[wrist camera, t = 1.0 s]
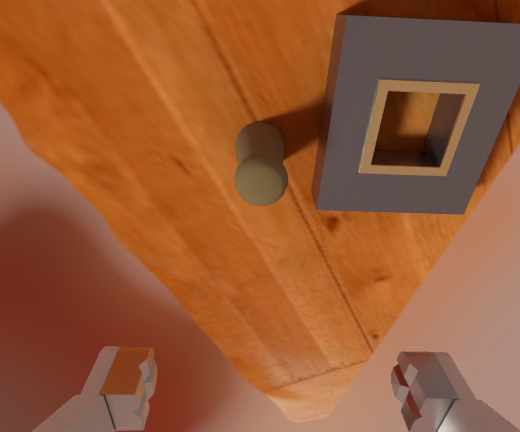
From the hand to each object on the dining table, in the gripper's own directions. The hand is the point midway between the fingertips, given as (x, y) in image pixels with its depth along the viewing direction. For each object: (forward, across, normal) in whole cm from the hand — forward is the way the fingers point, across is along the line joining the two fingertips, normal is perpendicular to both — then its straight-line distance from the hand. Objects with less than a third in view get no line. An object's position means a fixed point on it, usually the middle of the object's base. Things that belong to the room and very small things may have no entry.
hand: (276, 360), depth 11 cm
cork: (+32, 0, +3) cm, 32 cm away
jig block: (+32, -16, -1) cm, 36 cm away
